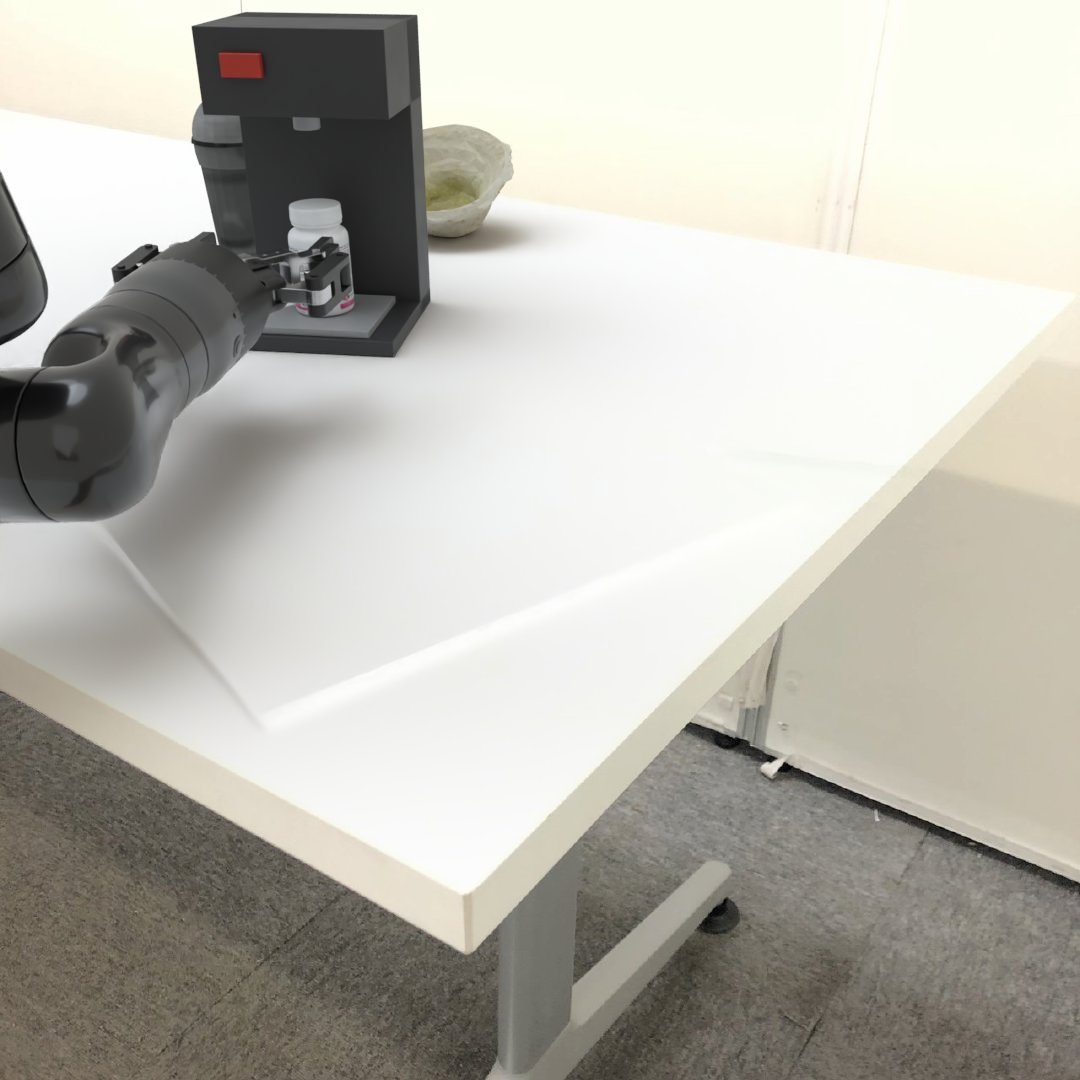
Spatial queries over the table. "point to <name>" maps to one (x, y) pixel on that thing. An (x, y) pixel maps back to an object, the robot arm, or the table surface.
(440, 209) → the bowl
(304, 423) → the table surface
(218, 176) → the beverage cup
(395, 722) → the table surface
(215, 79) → the coffee maker
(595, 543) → the table surface
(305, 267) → the pill bottle
